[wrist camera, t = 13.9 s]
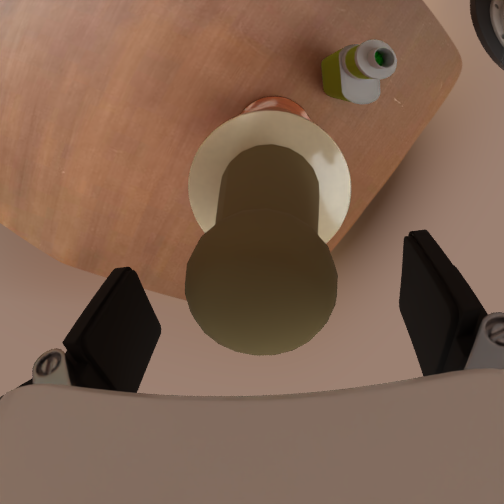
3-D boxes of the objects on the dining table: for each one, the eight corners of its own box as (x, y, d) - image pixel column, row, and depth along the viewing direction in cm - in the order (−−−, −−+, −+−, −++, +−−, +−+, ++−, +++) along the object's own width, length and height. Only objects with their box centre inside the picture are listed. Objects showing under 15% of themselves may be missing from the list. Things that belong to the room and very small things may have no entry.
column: (323, 112, 38) (378, 150, 17) (296, 179, 43) (311, 282, 22) (250, 85, 37) (214, 87, 16) (226, 154, 42) (172, 236, 21)
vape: (348, 54, 33) (406, 34, 16) (351, 98, 36) (411, 112, 19) (319, 54, 34) (356, 29, 16) (323, 98, 37) (362, 110, 19)
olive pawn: (337, 209, 19) (384, 340, 10) (255, 253, 21) (235, 395, 12) (285, 124, 17) (296, 183, 7) (200, 178, 19) (122, 288, 9)
